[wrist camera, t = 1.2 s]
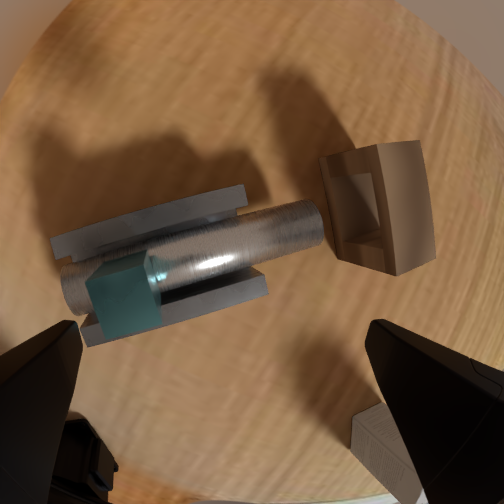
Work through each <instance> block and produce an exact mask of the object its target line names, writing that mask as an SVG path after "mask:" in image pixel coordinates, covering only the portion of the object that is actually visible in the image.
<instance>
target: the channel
mask: <svg viewBox="0 0 504 504" xmlns="http://www.w3.org/2000/svg"><path fill="white" fill-rule="evenodd" d="M247 205H248V201H247V196H246V192H245V188H244V184H240V185H236V186H231V187H227V188H223V189H219V190H214V191H210V192H206V193H202V194H198V195H194V196H190V197H186V198H182V199H179V200H175V201H171V202H167V203H163V204H160V205H156V206H152V207H149V208H145V209H142V210H138V211H135V212H131V213H128V214H124V215H121V216H118V217H114V218H111V219H108V220H104V221H101V222H98V223H95V224H92V225H88V226H85V227H82V228H79V229H76V230H73V231H70V232H67V233H64V234H61V235H58V236H55V237H52V238H50V242H51V245H52V249H53V253H54V256H55V260H57V259H60V258H63V257H66V256H70V255H71V258H72V261H73V262H76V261H79V260H83V259H86V258H89V257H92V256H96V255H99V254H102V253H105V252H109V251H112V250H115V249H119V248H122V247H126V246H129V245H132V244H136V243H139V242H143V241H146V240H150V239H153V238H157V237H160V236H164V235H167V234H171V233H175V232H178V231H182V230H186V229H189V228H193V227H197V226H200V225H204V224H208V223H211V222H215V221H219V220H223V219H227V218H231V217H234V216H237V212H236V208H239V207H243V206H247ZM160 294H161V309H162V323H163V324H161V325H158V326H154V327H151V328H147V329H144V330H140V331H137V332H133V333H129V334H126V335H122V336H118V337H115V338H111V339H107V340H106V338H105V336H104V334H103V331H102V329H101V326H100V323H99V321H98V318H97V316H96V313H95V312H91V313H88V315H87V317H86V319H85V320H84V322H83V324H82V325H81V327H80V331H81V333H82V336H83V338H84V340H85V343H86V345H87V347H91V346H95V345H99V344H103V343H107V342H111V341H114V340H118V339H122V338H125V337H129V336H133V335H136V334H140V333H143V332H147V331H150V330H154V329H157V328H161V327H164V326H168V325H171V324H175V323H178V322H181V321H185V320H188V319H191V318H195V317H198V316H201V315H205V314H208V313H211V312H214V311H218V310H221V309H224V308H227V307H230V306H234V305H237V304H240V303H243V302H246V301H249V300H252V299H255V298H258V297H261V296H264V295H267V294H269V293H268V289H267V284H266V280H265V275H264V274H262V273H261V272H259V271H258V270H256V269H254V268H253V267H251V266H249V267H246V268H242V269H239V270H236V271H232V272H229V273H226V274H222V275H219V276H216V277H212V278H209V279H205V280H202V281H199V282H195V283H192V284H188V285H185V286H182V287H178V288H175V289H171V290H168V291H165V292H161V293H160Z"/></svg>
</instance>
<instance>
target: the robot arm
mask: <svg viewBox="0 0 504 504" xmlns="http://www.w3.org/2000/svg"><path fill="white" fill-rule="evenodd" d="M365 349H366V352H367V355H368V357H369V360H370V363H371V366H372V369H373V372H374V375H375V378H376V381H377V383H378V386H379V388H380V391H381V393H382V395H383V397H384V399H385V401H386V404H387V406H388V408H389V410H390V412H391V415H392V417H393V419H394V421H395V423H396V426H397V428H398V430H399V433H400V435H401V437H402V439H403V442H404V444H405V446H406V449H407V451H408V453H409V456H410V458H411V461H412V463H413V465H414V468H415V470H416V473H417V475H418V478H419V480H420V483H421V485H422V488H423V489H424V493H425V496H426V498H427V501H428V503H429V504H504V372H503V371H500V370H498V369H495V368H493V367H490V366H488V365H485V364H483V363H481V362H478V361H476V360H474V359H472V358H469V357H467V356H465V355H463V354H460V353H458V352H456V351H454V350H451V349H449V348H447V347H445V346H443V345H440V344H438V343H436V342H434V341H432V340H429V339H427V338H425V337H423V336H420V335H418V334H416V333H414V332H412V331H409V330H407V329H405V328H403V327H401V326H398V325H396V324H394V323H392V322H390V321H387V320H385V319H376V320H372V321H371V323H370V326H369V329H368V332H367V336H366V339H365ZM82 351H83V344H82V340H81V336H80V332H79V328H78V325H77V323H76V322H75V321H72V320H62V321H61V322H59V323H57V324H55V325H53V326H52V327H50V328H48V329H46V330H44V331H43V332H41V333H39V334H37V335H35V336H34V337H32V338H30V339H28V340H27V341H25V342H23V343H21V344H20V345H18V346H16V347H14V348H13V349H11V350H9V351H7V352H6V353H4V354H2V355H1V356H0V504H112V503H110V502H108V491H112V489H113V475H114V472H117V471H118V468H119V466H118V464H117V463H116V462H115V460H114V457H113V455H112V454H111V452H110V451H109V450H108V448H107V447H106V445H105V444H104V442H103V441H102V440H101V439H100V438H99V437H98V436H97V434H96V433H95V431H94V430H93V428H92V427H91V425H90V423H89V422H88V421H87V420H85V419H77V420H71V421H65V420H66V417H67V413H68V410H69V407H70V403H71V400H72V397H73V393H74V389H75V384H76V379H77V374H78V369H79V365H80V360H81V356H82ZM82 424H85V425H86V426H84V425H82Z"/></svg>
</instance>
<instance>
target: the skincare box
mask: <svg viewBox="0 0 504 504" xmlns="http://www.w3.org/2000/svg"><path fill="white" fill-rule="evenodd" d="M350 451H351V453H352V454H353V455H354V456H355V457H356V458H357V459H358V460H359V461H360V462H361V463H362V464H363V465H364V466H365V467H366V468H367V469H368V471H369V472H370V473H371V474H372V475H373V476H374V477H375V478H376V479H377V480H378V481H379V482H380V483H381V484H382V485H383V486H384V487H385V488H386V489H387V490H388V491H389V492H390V493H391V494H392V495H393V496H394V497H395V498H396V499H397V500H398V501H399V502H400V503H401V504H426V503H427V502H428V501H427V498H426V496H425V493H424V489H423V488H422V485H421V483H420V480H419V478H418V475H417V473H416V470H415V468H414V465H413V463H412V461H411V458H410V456H409V453H408V451H407V449H406V446H405V444H404V442H403V439H402V437H401V435H400V433H399V430H398V428H397V426H396V423H395V421H394V419H393V417H392V415H391V412H390V410H389V408H388V406H387V405H386V404H385V403H384V402H380V403H379V404H377V405H375V406H373V407H371V408H369V409H367V410H365V411H363V412H360V413H358V414H356V415H354V416H353V417H352V437H351V450H350Z"/></svg>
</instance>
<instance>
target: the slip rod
mask: <svg viewBox="0 0 504 504" xmlns="http://www.w3.org/2000/svg"><path fill="white" fill-rule="evenodd" d="M323 237H324V227H323V221H322V218H321V215H320V212H319V210H318V208H317V207H316V205H315V204H314V203H313V202H312V201H311V200H309V199H303V200H299V201H295V202H291V203H287V204H282V205H278V206H274V207H270V208H266V209H262V210H258V211H254V212H250V213H246V214H242V215H238V216H234V217H231V218H227V219H223V220H219V221H215V222H211V223H208V224H204V225H200V226H197V227H193V228H189V229H186V230H182V231H178V232H175V233H171V234H167V235H164V236H160V237H157V238H153V239H150V240H146V241H143V242H139V243H136V244H132V245H129V246H126V247H122V248H119V249H115V250H112V251H109V252H105V253H102V254H99V255H96V256H92V257H89V258H86V259H83V260H79V261H76V262H73V263H70V264H67V265H64V266H62V268H61V274H60V278H61V286H62V291H63V294H64V297H65V300H66V302H67V305H68V307H69V308H70V310H71V311H72V313H73V314H74V315H76V316H80V315H84V314H88V313H91V312H95V313H96V316H97V318H98V321H99V323H100V326H101V329H102V331H103V334H104V336H105V338H106V340H107V339H111V338H115V337H118V336H122V335H126V334H129V333H133V332H137V331H140V330H144V329H147V328H151V327H154V326H158V325H161V324H163V323H162V309H161V294H160V293H161V292H165V291H168V290H171V289H175V288H178V287H182V286H185V285H188V284H192V283H195V282H199V281H202V280H205V279H209V278H212V277H216V276H219V275H222V274H226V273H229V272H232V271H236V270H239V269H242V268H246V267H249V266H252V265H256V264H259V263H262V262H266V261H269V260H272V259H276V258H279V257H282V256H285V255H289V254H292V253H295V252H299V251H302V250H305V249H308V248H312V247H315V246H318V245H320V244H321V243H322V241H323Z"/></svg>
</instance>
